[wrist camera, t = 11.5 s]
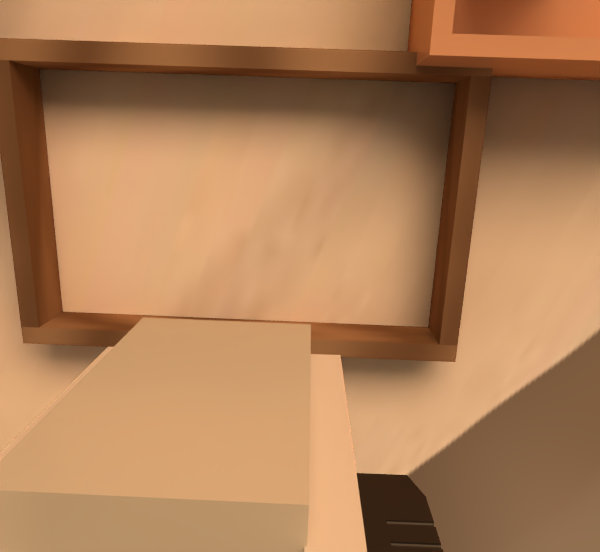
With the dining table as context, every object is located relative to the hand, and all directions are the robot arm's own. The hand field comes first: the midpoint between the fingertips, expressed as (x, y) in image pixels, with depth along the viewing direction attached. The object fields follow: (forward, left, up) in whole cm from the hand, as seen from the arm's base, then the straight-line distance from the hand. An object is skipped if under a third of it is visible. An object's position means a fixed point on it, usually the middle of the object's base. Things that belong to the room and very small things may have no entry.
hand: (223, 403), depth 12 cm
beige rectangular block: (0, 0, 0) cm, 0 cm away
